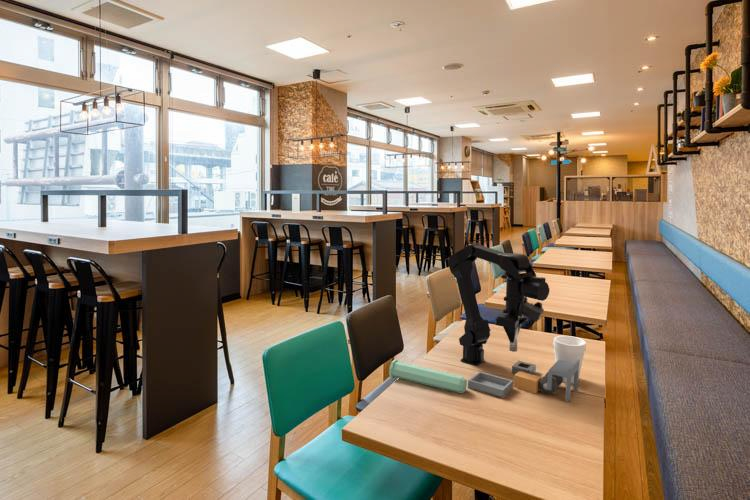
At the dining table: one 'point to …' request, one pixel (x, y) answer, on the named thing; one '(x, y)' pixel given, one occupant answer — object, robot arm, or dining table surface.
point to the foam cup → (569, 351)
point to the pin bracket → (523, 367)
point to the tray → (490, 384)
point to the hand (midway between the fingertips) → (513, 341)
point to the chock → (526, 382)
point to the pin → (514, 345)
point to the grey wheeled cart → (560, 377)
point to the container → (428, 376)
